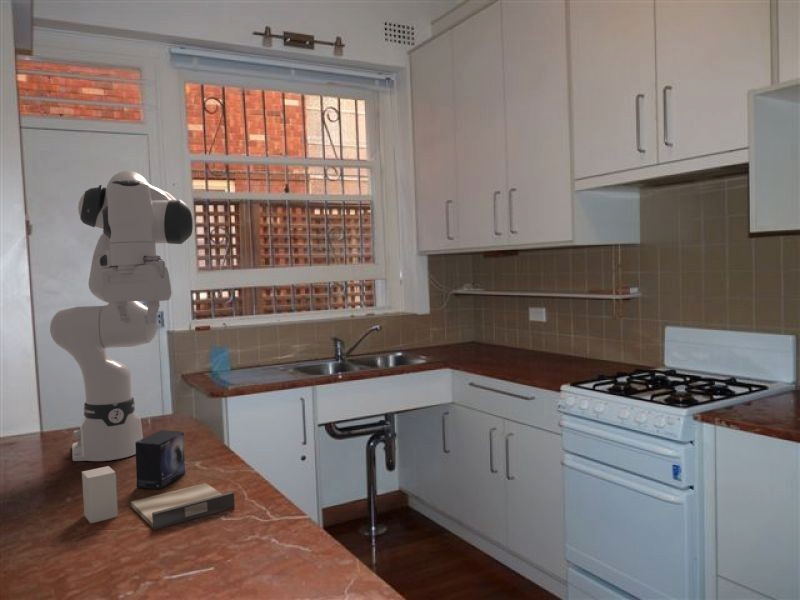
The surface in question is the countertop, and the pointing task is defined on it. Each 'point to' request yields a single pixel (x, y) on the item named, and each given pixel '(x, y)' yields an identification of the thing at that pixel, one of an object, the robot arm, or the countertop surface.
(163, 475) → the small box
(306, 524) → the countertop surface
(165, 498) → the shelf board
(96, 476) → the carton
